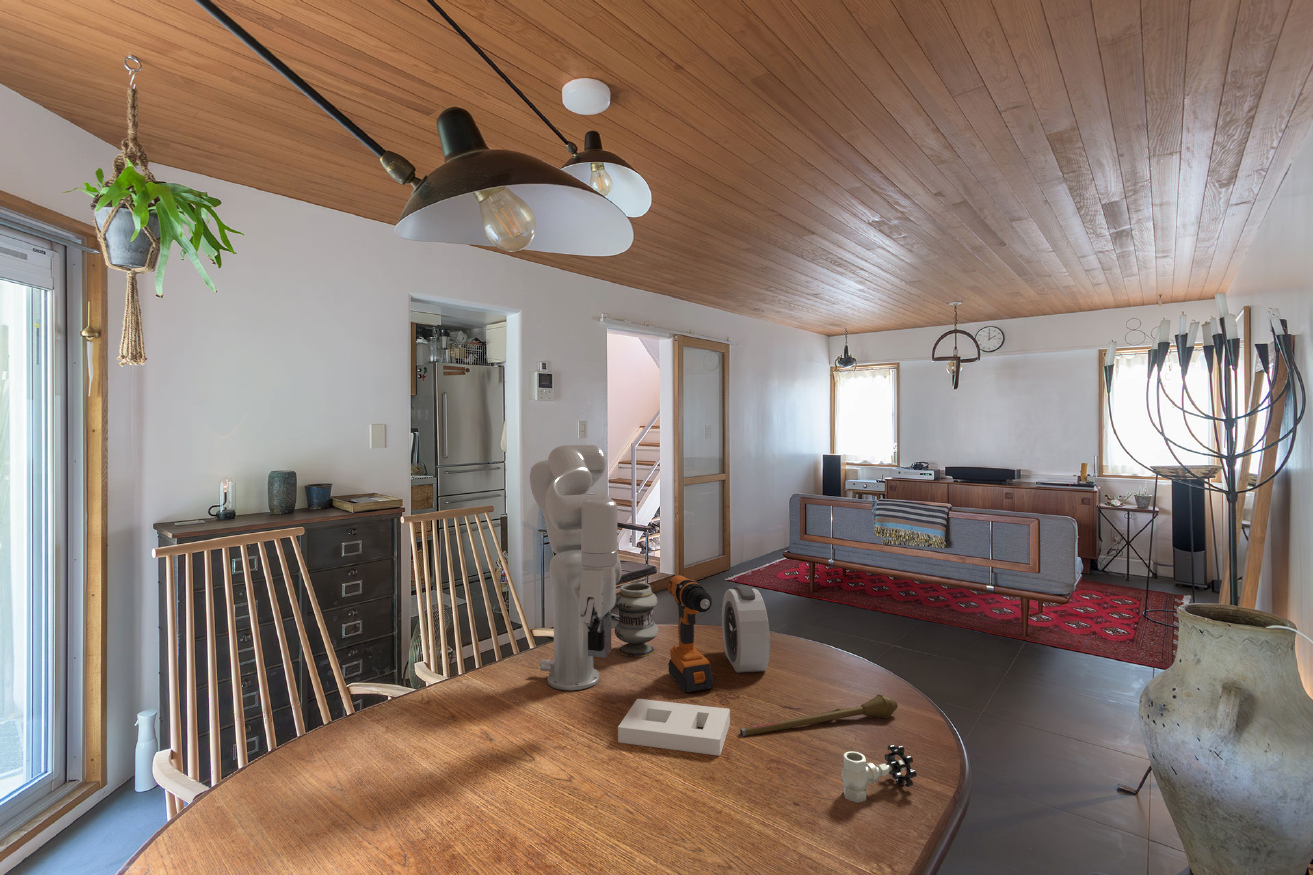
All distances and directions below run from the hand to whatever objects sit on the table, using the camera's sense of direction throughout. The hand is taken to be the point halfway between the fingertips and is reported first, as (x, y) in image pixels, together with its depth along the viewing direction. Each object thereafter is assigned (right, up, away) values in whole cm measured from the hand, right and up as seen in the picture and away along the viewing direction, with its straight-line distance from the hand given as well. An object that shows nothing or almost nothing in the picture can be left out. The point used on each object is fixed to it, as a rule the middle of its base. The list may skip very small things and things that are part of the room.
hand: (599, 645), depth 125 cm
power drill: (+21, -16, +18) cm, 32 cm away
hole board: (+16, -16, -5) cm, 23 cm away
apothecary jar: (+6, -16, +41) cm, 45 cm away
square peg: (0, -2, 0) cm, 2 cm away
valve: (+48, -16, -25) cm, 57 cm away
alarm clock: (+35, -16, +33) cm, 51 cm away
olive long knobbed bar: (+46, -16, -2) cm, 49 cm away
